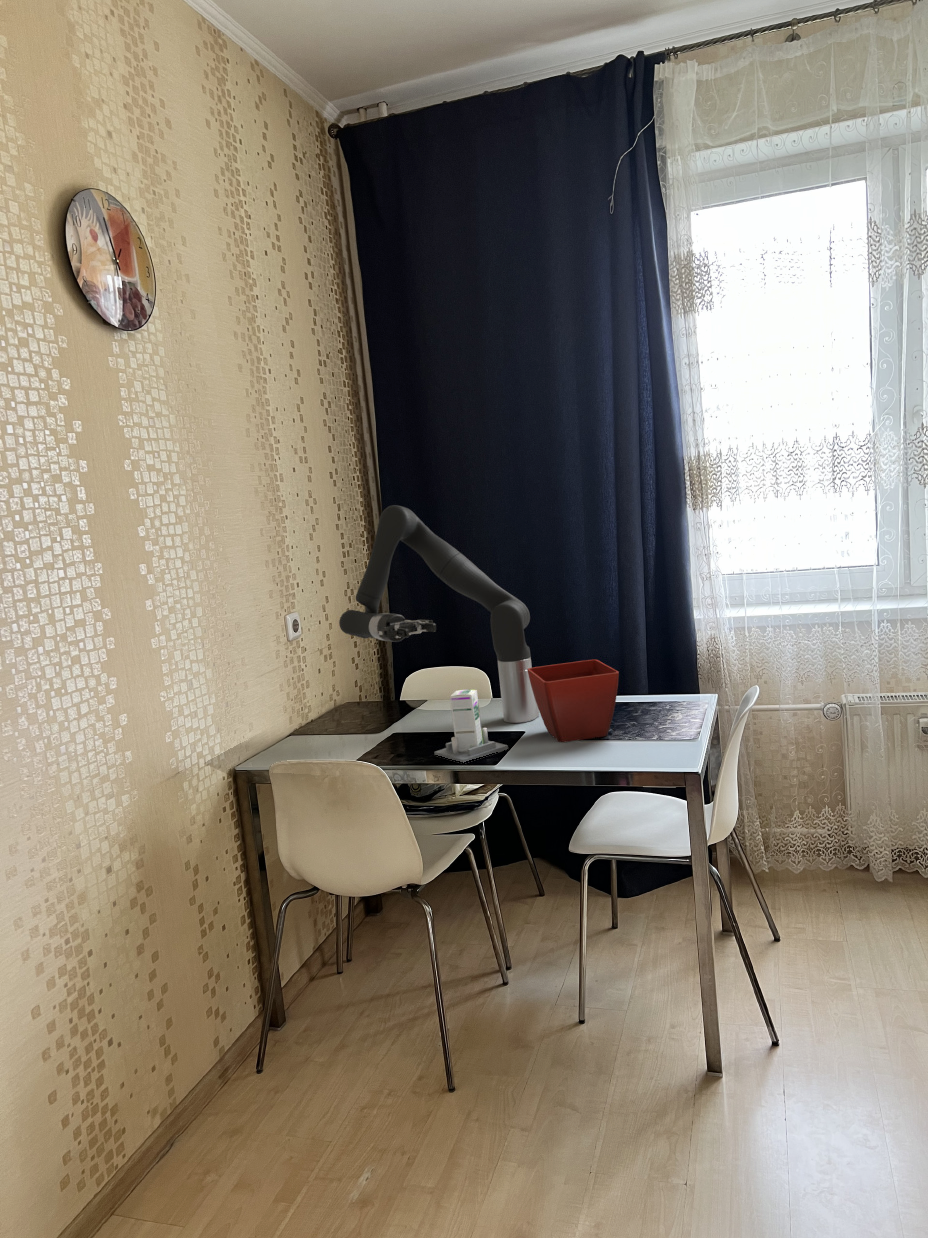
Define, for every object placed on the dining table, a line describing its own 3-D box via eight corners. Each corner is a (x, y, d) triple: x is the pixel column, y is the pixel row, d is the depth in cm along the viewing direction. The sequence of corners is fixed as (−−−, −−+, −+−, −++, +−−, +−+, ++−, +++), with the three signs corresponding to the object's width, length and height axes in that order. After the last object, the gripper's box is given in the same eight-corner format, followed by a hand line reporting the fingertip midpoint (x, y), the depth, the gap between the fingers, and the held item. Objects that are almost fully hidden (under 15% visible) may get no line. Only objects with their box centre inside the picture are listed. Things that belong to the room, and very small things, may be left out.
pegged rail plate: (478, 741, 235) (476, 723, 234) (508, 749, 225) (506, 729, 224) (434, 755, 227) (432, 736, 226) (463, 764, 217) (461, 743, 216)
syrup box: (478, 751, 222) (472, 694, 220) (455, 752, 224) (449, 695, 222) (483, 744, 228) (477, 688, 226) (461, 745, 229) (455, 689, 227)
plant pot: (625, 737, 224) (620, 671, 222) (551, 749, 222) (544, 681, 219) (601, 720, 243) (596, 658, 241) (532, 730, 240) (526, 668, 238)
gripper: (364, 617, 243) (396, 620, 230) (408, 609, 251) (442, 611, 238) (367, 645, 244) (400, 649, 231) (411, 636, 252) (445, 639, 239)
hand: (421, 630), depth 235 cm, fingers open, 8 cm apart
